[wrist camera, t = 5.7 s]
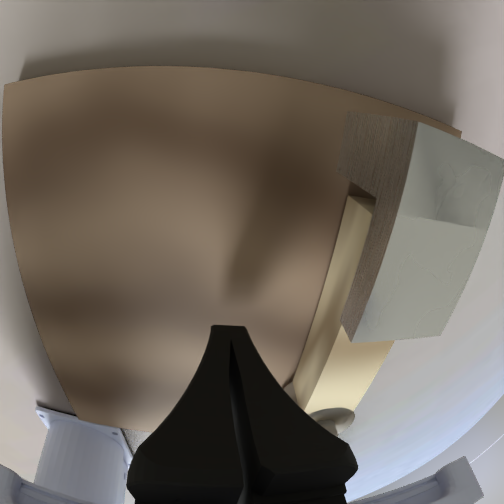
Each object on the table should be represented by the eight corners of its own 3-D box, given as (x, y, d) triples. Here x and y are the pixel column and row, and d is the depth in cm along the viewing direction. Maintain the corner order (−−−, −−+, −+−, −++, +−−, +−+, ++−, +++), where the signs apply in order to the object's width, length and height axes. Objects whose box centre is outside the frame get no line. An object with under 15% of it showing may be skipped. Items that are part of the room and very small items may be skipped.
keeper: (390, 273, 14) (440, 335, 9) (313, 269, 13) (351, 343, 9) (428, 135, 11) (506, 161, 7) (347, 111, 10) (418, 121, 6)
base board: (334, 420, 21) (337, 430, 20) (81, 409, 18) (78, 419, 17) (448, 128, 11) (461, 131, 10) (16, 84, 9) (4, 84, 8)
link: (330, 408, 18) (343, 448, 15) (273, 412, 17) (280, 456, 14) (416, 207, 12) (463, 240, 9) (336, 193, 11) (374, 226, 8)
